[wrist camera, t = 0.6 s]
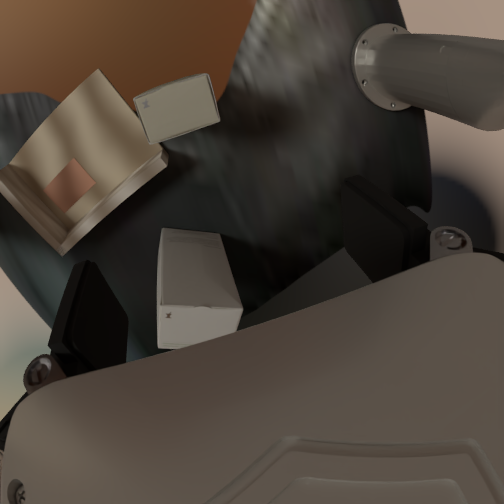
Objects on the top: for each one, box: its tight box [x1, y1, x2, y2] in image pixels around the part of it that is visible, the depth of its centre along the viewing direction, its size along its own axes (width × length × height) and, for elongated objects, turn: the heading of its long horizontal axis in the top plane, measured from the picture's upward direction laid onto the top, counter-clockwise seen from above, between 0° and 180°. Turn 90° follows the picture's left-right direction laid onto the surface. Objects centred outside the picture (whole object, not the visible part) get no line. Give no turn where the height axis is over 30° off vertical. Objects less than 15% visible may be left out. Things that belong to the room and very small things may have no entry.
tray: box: [0, 69, 169, 256], centre depth 31 cm, size 18×14×4 cm
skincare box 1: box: [133, 74, 220, 145], centre depth 27 cm, size 6×4×12 cm
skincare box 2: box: [157, 228, 243, 349], centre depth 36 cm, size 8×7×16 cm
